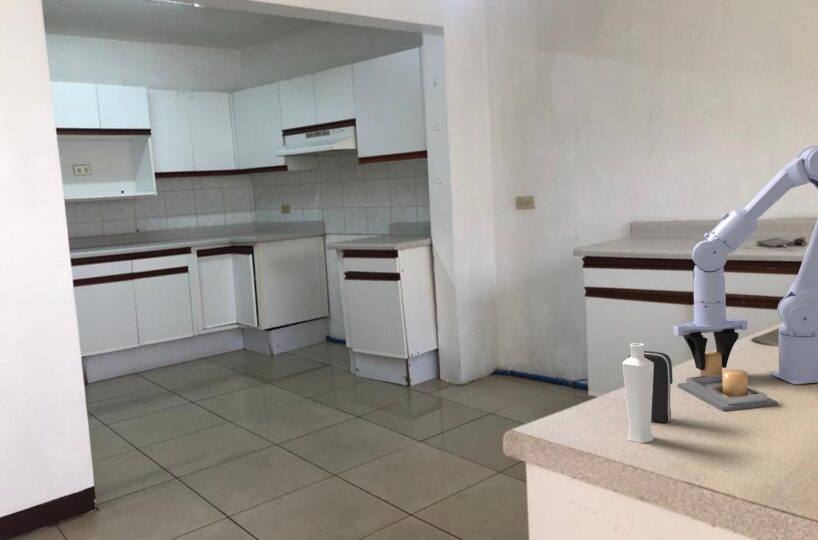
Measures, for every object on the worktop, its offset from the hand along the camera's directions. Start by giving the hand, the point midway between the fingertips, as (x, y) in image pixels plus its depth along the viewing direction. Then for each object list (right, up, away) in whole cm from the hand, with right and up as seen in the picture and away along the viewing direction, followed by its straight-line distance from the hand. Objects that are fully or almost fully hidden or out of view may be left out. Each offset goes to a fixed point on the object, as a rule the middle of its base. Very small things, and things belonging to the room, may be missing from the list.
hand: (711, 367), depth 134 cm
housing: (-3, -3, -12) cm, 13 cm away
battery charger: (-20, -6, -21) cm, 29 cm away
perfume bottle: (-25, -7, -29) cm, 39 cm away
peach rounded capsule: (0, -2, 0) cm, 2 cm away
